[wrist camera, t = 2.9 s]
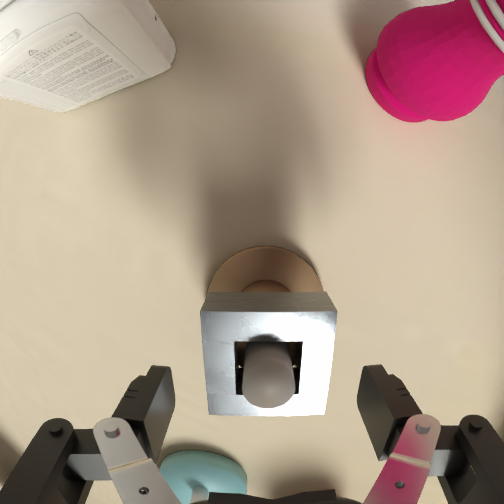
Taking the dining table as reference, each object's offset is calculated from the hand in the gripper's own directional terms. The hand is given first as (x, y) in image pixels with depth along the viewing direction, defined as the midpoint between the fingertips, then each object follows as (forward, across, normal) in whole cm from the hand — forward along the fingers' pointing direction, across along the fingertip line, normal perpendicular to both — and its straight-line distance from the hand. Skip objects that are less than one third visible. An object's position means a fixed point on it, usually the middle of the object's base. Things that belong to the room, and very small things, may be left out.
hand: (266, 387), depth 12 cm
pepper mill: (+10, -10, -16) cm, 21 cm away
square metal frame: (+4, 0, 0) cm, 4 cm away
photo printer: (+11, +11, -17) cm, 23 cm away
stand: (+10, 0, 0) cm, 10 cm away
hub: (+10, +6, +20) cm, 23 cm away
